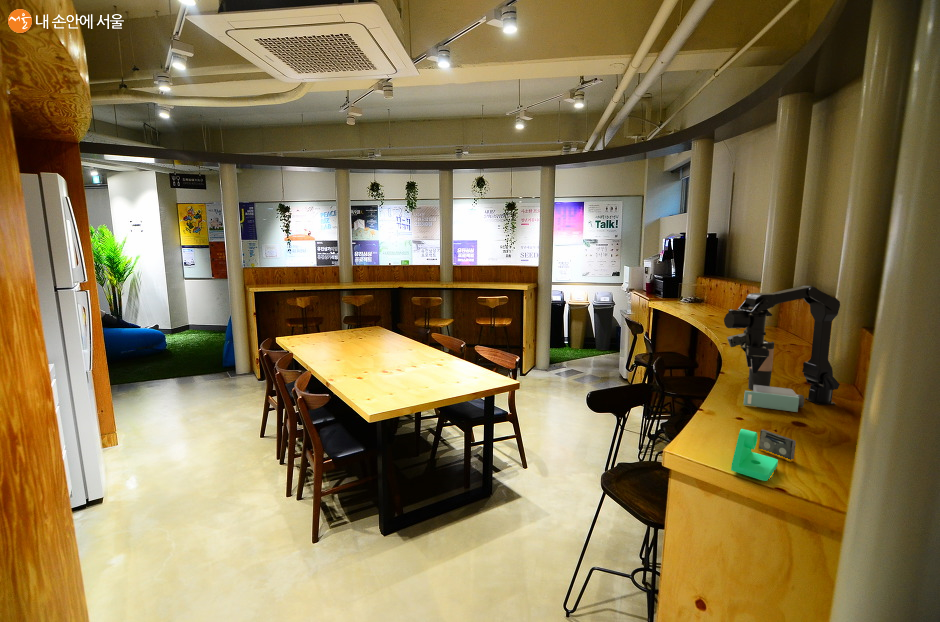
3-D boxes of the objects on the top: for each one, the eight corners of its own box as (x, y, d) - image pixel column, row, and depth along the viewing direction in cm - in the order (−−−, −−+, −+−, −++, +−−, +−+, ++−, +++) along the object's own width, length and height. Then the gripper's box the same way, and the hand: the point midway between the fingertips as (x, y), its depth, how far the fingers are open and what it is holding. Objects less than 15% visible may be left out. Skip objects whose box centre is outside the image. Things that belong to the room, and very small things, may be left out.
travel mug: (749, 390, 177) (754, 342, 174) (745, 385, 184) (750, 338, 181) (772, 393, 174) (777, 343, 171) (767, 387, 181) (772, 340, 178)
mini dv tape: (793, 461, 117) (795, 440, 116) (790, 462, 116) (792, 441, 116) (761, 449, 124) (763, 429, 124) (758, 450, 124) (760, 429, 123)
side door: (797, 411, 153) (798, 397, 152) (798, 413, 151) (799, 398, 151) (743, 404, 160) (744, 390, 159) (744, 405, 158) (745, 391, 157)
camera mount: (766, 486, 105) (770, 445, 104) (730, 474, 110) (734, 435, 109) (777, 469, 113) (781, 431, 112) (744, 459, 119) (747, 422, 117)
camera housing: (798, 404, 161) (799, 389, 160) (805, 413, 152) (806, 398, 151) (752, 398, 167) (753, 384, 167) (756, 406, 158) (757, 392, 158)
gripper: (726, 322, 170) (723, 361, 172) (733, 330, 153) (730, 374, 155) (760, 324, 166) (756, 364, 168) (771, 333, 149) (767, 377, 151)
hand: (751, 369), depth 161 cm, fingers open, 9 cm apart
